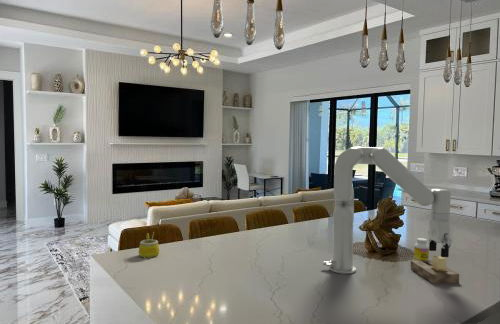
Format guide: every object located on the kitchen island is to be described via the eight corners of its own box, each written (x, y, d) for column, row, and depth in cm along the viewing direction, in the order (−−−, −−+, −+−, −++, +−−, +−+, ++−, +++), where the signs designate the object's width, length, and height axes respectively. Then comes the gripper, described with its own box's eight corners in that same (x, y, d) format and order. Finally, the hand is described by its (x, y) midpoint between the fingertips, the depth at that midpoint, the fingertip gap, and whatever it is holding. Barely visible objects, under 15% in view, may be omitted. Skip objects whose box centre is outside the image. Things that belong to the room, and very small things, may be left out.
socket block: (432, 283, 167) (432, 274, 166) (410, 268, 187) (410, 260, 186) (458, 283, 167) (459, 274, 167) (434, 268, 187) (434, 260, 187)
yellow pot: (154, 259, 200) (154, 236, 200) (135, 258, 202) (134, 235, 202) (164, 252, 213) (164, 231, 212) (146, 251, 215) (146, 230, 214)
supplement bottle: (420, 266, 190) (420, 241, 189) (411, 262, 196) (411, 237, 196) (431, 265, 192) (432, 240, 191) (422, 261, 198) (422, 237, 198)
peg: (436, 280, 170) (437, 258, 170) (432, 277, 174) (432, 255, 174) (445, 280, 170) (446, 258, 170) (440, 277, 174) (441, 255, 174)
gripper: (422, 212, 180) (420, 248, 180) (443, 220, 162) (441, 259, 163) (437, 212, 180) (436, 248, 181) (459, 220, 163) (457, 259, 164)
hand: (438, 253), depth 172 cm, fingers open, 9 cm apart
